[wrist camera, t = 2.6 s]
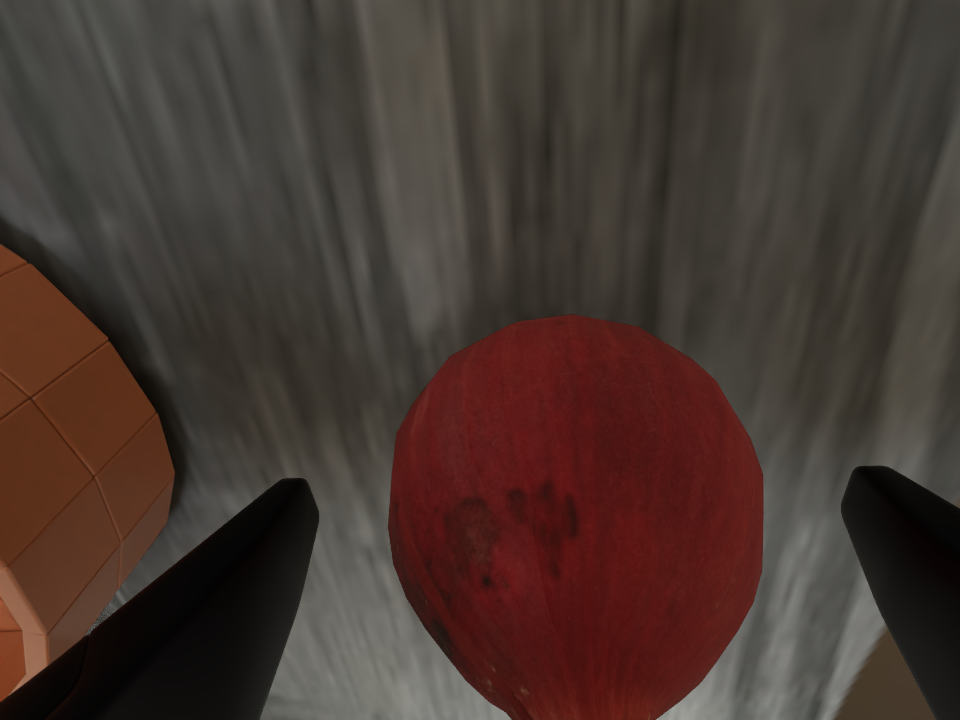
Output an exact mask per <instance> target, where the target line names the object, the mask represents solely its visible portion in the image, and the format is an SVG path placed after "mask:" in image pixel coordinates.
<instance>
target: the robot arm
mask: <svg viewBox="0 0 960 720" xmlns="http://www.w3.org/2000/svg"><path fill="white" fill-rule="evenodd" d="M841 513H842V518H843V520H844V523H845V526H846V528H847V531H848V533H849V536H850V538H851V541H852V543H853V546H854V549H855V551H856V554H857V556H858V559H859V561H860V564H861V566H862V569H863V571H864V574H865V577H866V579H867V582H868V584H869V587H870V589H871V592H872V594H873V597H874V599H875V601H876V604H877V606H878V608H879V611H880V613H881V615H882V617H883V619H884V621H885V623H886V625H887V627H888V629H889V631H890V633H891V635H892V637H893V639H894V640H895V643H896V644H897V646H898V648H899V650H900V652H901V654H902V656H903V658H904V660H905V662H906V664H907V666H908V667H909V669H910V671H911V673H912V675H913V677H914V679H915V681H916V683H917V685H918V686H919V688H920V690H921V692H922V694H923V696H924V698H925V700H926V702H927V704H928V706H929V708H930V710H931V712H932V713H933V715H934V717H935V719H936V720H960V508H958V507H956V506H954V505H953V504H951V503H949V502H948V501H946V500H944V499H943V498H941V497H939V496H937V495H936V494H934V493H932V492H931V491H929V490H927V489H926V488H924V487H922V486H920V485H919V484H917V483H915V482H914V481H912V480H910V479H908V478H907V477H905V476H903V475H902V474H900V473H898V472H897V471H895V470H893V469H891V468H889V467H886V466H859V467H856V468H855V469H854V470H853V472H852V474H851V476H850V479H849V482H848V485H847V488H846V491H845V494H844V496H843V499H842V503H841ZM318 524H319V511H318V507H317V505H316V502H315V499H314V497H313V494H312V492H311V489H310V486H309V484H308V482H307V481H306V480H305V479H303V478H285V479H281V480H280V481H278V482H277V483H275V484H274V485H273V486H272V487H270V488H269V489H268V490H267V491H265V492H264V493H263V494H262V495H260V496H259V497H258V498H257V499H256V500H254V501H253V502H252V503H251V504H249V505H248V506H247V507H246V508H244V509H243V510H242V511H241V512H239V513H238V514H237V515H236V516H234V517H233V518H232V519H231V520H229V521H228V522H227V523H226V524H224V525H223V526H222V527H221V528H219V529H218V530H217V531H216V532H214V533H213V534H212V535H211V536H209V537H208V538H207V539H206V540H204V541H203V542H202V543H201V544H199V545H198V546H197V547H196V548H194V549H193V550H192V551H191V552H189V553H188V554H187V555H186V556H184V557H183V558H182V559H181V560H179V561H178V562H177V563H176V564H174V565H173V566H172V567H171V568H169V569H168V570H167V571H166V572H164V573H163V574H162V575H161V576H159V577H158V578H157V579H156V580H154V581H153V582H152V583H151V584H149V585H148V586H147V587H146V588H144V589H143V590H142V591H141V592H139V593H138V594H137V595H136V596H135V597H133V598H132V599H131V600H130V601H128V602H127V603H126V604H125V605H123V606H122V607H121V608H120V609H118V610H117V611H116V612H115V613H113V614H112V615H111V616H110V617H108V618H107V619H106V620H105V621H103V622H102V623H101V624H100V625H98V626H97V627H96V628H95V629H93V630H92V631H91V633H90V635H86V636H84V637H83V638H82V639H81V640H79V641H78V642H77V643H76V644H74V645H73V646H72V647H71V648H69V649H68V650H67V651H66V652H64V653H63V654H62V655H61V656H59V657H58V658H57V659H56V660H54V661H53V662H52V663H50V664H49V665H48V666H47V667H45V668H44V669H43V670H41V671H40V672H39V673H38V674H36V675H35V676H34V677H32V678H31V679H30V680H29V681H27V682H26V683H25V684H23V685H22V686H21V687H19V688H18V689H17V690H15V691H14V692H13V693H11V694H10V695H9V696H7V697H6V698H5V699H3V700H2V701H0V720H260V717H261V714H262V711H263V708H264V705H265V703H266V700H267V697H268V694H269V691H270V688H271V685H272V683H273V680H274V677H275V674H276V671H277V668H278V665H279V662H280V660H281V657H282V654H283V651H284V648H285V645H286V642H287V639H288V637H289V634H290V631H291V628H292V625H293V622H294V619H295V616H296V613H297V610H298V607H299V604H300V600H301V596H302V592H303V588H304V584H305V579H306V575H307V571H308V567H309V562H310V558H311V554H312V550H313V545H314V541H315V537H316V532H317V528H318Z"/></svg>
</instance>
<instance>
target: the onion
mask: <svg viewBox="0 0 960 720" xmlns="http://www.w3.org/2000/svg"><path fill="white" fill-rule="evenodd" d="M388 530H389V537H390V544H391V551H392V559H393V565H394V567H395V570H396V572H397V575H398V577H399V580H400V583H401V585H402V588H403V590H404V593H405V596H406V598H407V600H408V601H409V603H410V604H411V606H412V608H413V609H414V611H415V613H416V614H417V616H418V617H419V619H420V621H421V622H422V624H423V626H424V627H425V629H426V630H427V631H428V633H429V634H430V635H431V637H432V638H433V639H434V640H435V642H436V643H437V644H438V646H439V647H440V648H441V650H442V651H443V652H444V653H445V655H446V656H447V657H448V659H449V660H450V661H451V662H452V664H453V665H454V666H455V667H456V669H457V670H458V671H459V672H460V674H461V675H462V676H463V677H464V679H465V680H466V681H467V682H468V683H469V684H470V685H471V686H472V687H473V688H474V689H476V690H477V691H478V692H479V693H480V694H481V695H482V696H483V697H484V698H485V699H486V700H488V701H489V702H490V703H491V704H493V705H495V706H496V707H498V708H499V709H501V710H503V711H504V712H506V713H507V714H508V716H509V717H510V718H511V719H512V720H656V719H657V718H659V717H660V716H661V715H663V714H664V713H665V712H667V711H668V710H669V709H671V708H672V707H673V706H674V705H676V704H677V703H678V702H680V701H681V700H682V699H683V698H685V697H686V696H687V695H688V694H689V693H690V692H691V691H692V690H693V689H694V688H696V687H697V686H698V685H699V684H700V683H701V682H702V680H703V679H704V678H705V677H706V675H707V674H708V673H709V671H710V670H711V669H712V667H713V666H714V665H715V663H716V662H717V661H718V659H719V658H720V656H721V655H722V653H723V652H724V650H725V649H726V647H727V646H728V644H729V643H730V642H731V640H732V639H733V637H734V636H735V634H736V633H737V631H738V630H739V628H740V626H741V624H742V622H743V620H744V619H745V617H746V615H747V613H748V611H749V610H750V608H751V606H752V604H753V602H754V598H755V595H756V591H757V587H758V584H759V580H760V577H761V573H762V556H763V473H762V470H761V467H760V464H759V461H758V458H757V456H756V453H755V450H754V447H753V444H752V441H751V438H750V437H749V435H748V433H747V432H746V430H745V428H744V427H743V425H742V423H741V422H740V420H739V418H738V417H737V415H736V413H735V412H734V410H733V408H732V407H731V405H730V403H729V402H728V400H727V398H726V397H725V395H724V393H723V392H722V390H721V388H720V387H719V385H718V383H717V382H716V380H715V379H714V378H712V377H711V376H710V375H709V374H708V373H707V372H706V371H705V370H704V369H703V368H701V367H700V366H699V365H698V364H697V363H696V362H695V361H694V360H693V359H691V358H689V357H688V356H686V355H684V354H683V353H681V352H679V351H678V350H676V349H674V348H673V347H671V346H669V345H668V344H666V343H664V342H663V341H661V340H660V339H658V338H656V337H655V336H653V335H651V334H650V333H648V332H646V331H645V330H643V329H641V328H640V327H637V326H632V325H627V324H621V323H616V322H611V321H606V320H600V319H595V318H590V317H584V316H579V315H574V314H570V315H562V316H555V317H547V318H540V319H532V320H525V321H519V322H516V323H513V324H511V325H508V326H506V327H504V328H502V329H500V330H498V331H497V332H495V333H493V334H491V335H489V336H487V337H485V338H483V339H482V340H480V341H478V342H476V343H474V344H472V345H470V346H468V347H466V348H465V349H463V350H461V351H459V352H457V353H455V354H453V355H451V356H450V357H449V358H448V359H447V360H446V362H445V363H444V364H443V366H442V367H441V368H440V369H439V371H438V372H437V373H436V374H435V376H434V377H433V378H432V379H431V381H430V382H429V383H428V385H427V386H426V387H425V388H424V390H423V391H422V392H421V393H420V395H419V396H418V397H417V398H416V400H415V401H414V403H413V404H412V406H411V408H410V410H409V412H408V413H407V415H406V417H405V419H404V421H403V423H402V424H401V426H400V428H399V430H398V432H397V433H396V441H395V450H394V459H393V468H392V479H391V493H390V507H389V521H388Z"/></svg>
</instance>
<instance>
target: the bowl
mask: <svg viewBox="0 0 960 720" xmlns="http://www.w3.org/2000/svg"><path fill="white" fill-rule="evenodd" d="M108 340H109V339H108V337H107V336H106V335H105V334H104V333H103V332H102V331H101V330H100V329H99V328H98V327H96V326H95V325H94V324H93V323H92V322H91V321H90V320H89V319H88V318H87V317H86V316H85V315H84V314H83V313H82V312H81V311H80V310H79V309H78V308H77V307H76V306H75V305H74V304H73V303H72V302H71V301H70V300H68V299H67V298H66V297H65V296H64V295H63V294H62V293H61V292H60V291H59V290H58V289H57V288H56V287H55V286H54V285H53V284H52V283H51V282H50V281H49V280H48V279H47V278H46V277H45V276H44V275H43V274H42V273H40V272H39V271H38V270H37V269H36V268H35V267H34V266H33V265H32V264H28V262H27V261H26V260H25V259H23V258H22V257H20V256H18V255H17V254H15V253H14V252H12V251H11V250H9V249H8V248H6V247H5V246H3V245H2V244H0V701H2V700H3V699H5V698H6V697H7V696H9V695H10V694H11V693H13V692H14V691H15V690H17V689H18V688H19V687H21V686H22V685H23V684H25V683H26V682H27V681H29V680H30V679H31V678H32V677H34V676H35V675H36V674H38V673H39V672H40V671H41V670H43V669H44V668H45V667H47V666H48V665H49V664H50V663H52V662H53V661H54V660H56V659H57V658H58V657H59V656H61V655H62V654H63V653H64V652H66V651H67V650H68V649H69V648H71V647H72V646H73V645H74V644H76V643H77V642H78V641H79V640H81V639H82V638H83V637H84V636H85V634H86V633H87V632H88V630H89V629H90V628H91V626H92V625H93V623H94V622H95V621H96V619H97V618H98V617H99V615H100V614H101V613H102V611H103V610H104V608H105V607H106V606H107V604H108V603H109V602H110V600H111V599H112V598H113V596H114V595H115V593H116V592H117V591H118V589H119V588H120V587H121V585H122V584H123V583H124V581H125V580H126V579H127V577H128V576H129V574H130V573H131V572H132V570H133V569H134V568H135V566H136V565H137V564H138V562H139V561H140V559H141V558H142V557H143V555H144V554H145V553H146V551H147V550H148V549H149V547H150V546H151V545H152V543H153V542H154V540H155V539H156V538H157V536H158V535H159V534H160V532H161V531H162V530H163V528H164V527H165V526H166V523H167V521H168V515H169V509H170V502H171V496H172V490H173V484H174V478H175V476H174V475H175V470H174V466H173V463H172V460H171V456H170V453H169V449H168V446H167V442H166V439H165V435H164V432H163V428H162V425H161V421H160V418H159V415H158V413H156V410H155V408H154V407H153V405H152V404H151V402H150V401H149V399H148V398H147V396H146V395H145V393H144V392H143V390H142V389H141V387H140V386H139V384H138V383H137V381H136V380H135V378H134V376H133V375H132V373H131V372H130V370H129V369H128V367H127V366H126V364H125V363H124V361H123V360H122V358H121V357H120V355H119V354H118V352H117V351H116V349H115V348H114V346H113V345H112V343H111V342H109V341H108Z"/></svg>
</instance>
